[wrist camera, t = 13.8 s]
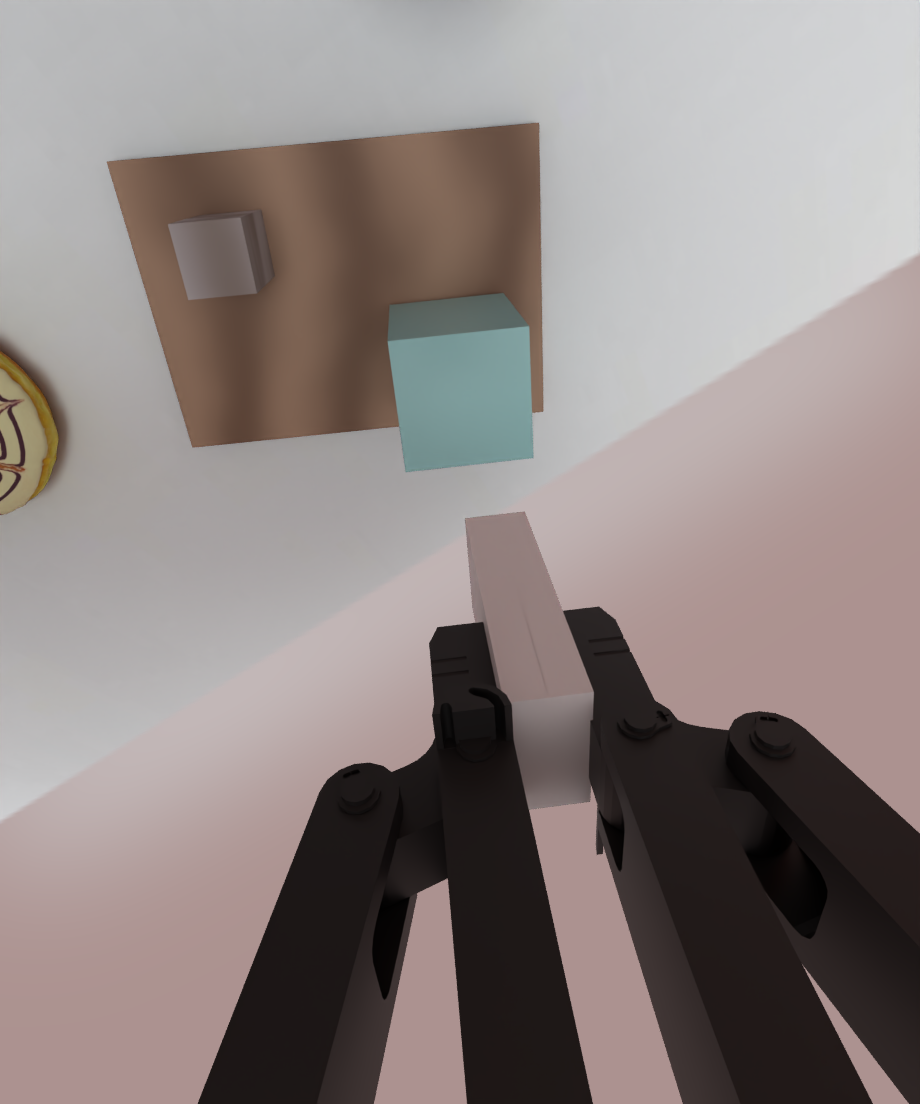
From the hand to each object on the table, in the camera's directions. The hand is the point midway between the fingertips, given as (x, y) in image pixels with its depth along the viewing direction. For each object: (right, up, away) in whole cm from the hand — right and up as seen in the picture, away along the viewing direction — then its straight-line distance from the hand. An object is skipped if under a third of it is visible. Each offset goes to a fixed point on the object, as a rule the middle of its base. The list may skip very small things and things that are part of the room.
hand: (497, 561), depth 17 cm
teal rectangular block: (-1, +11, +18) cm, 21 cm away
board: (-7, +14, +18) cm, 24 cm away
